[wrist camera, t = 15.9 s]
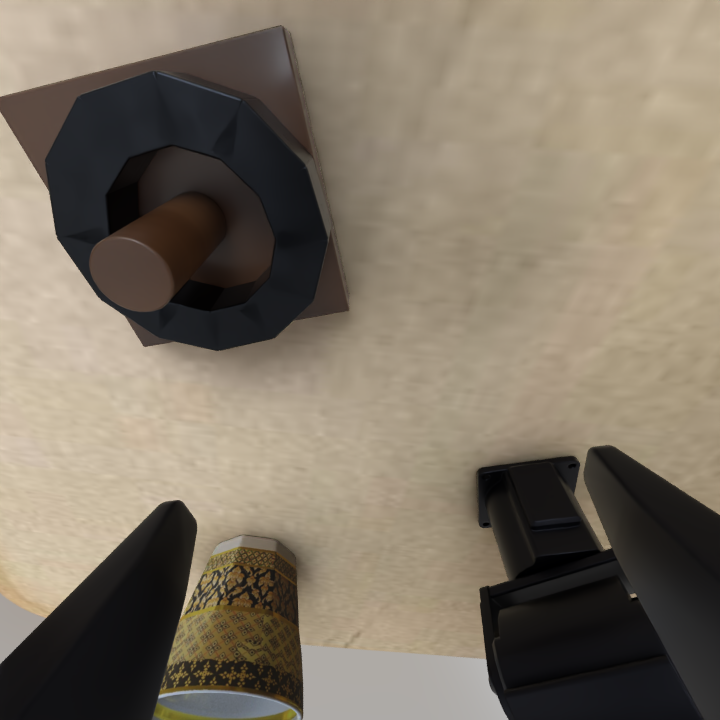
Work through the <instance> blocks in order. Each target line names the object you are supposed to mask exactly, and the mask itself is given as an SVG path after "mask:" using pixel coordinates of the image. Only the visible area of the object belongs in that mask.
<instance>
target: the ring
mask: <svg viewBox="0 0 720 720" xmlns="http://www.w3.org/2000/svg"><path fill="white" fill-rule="evenodd" d="M171 146H175V147H178V148H181V149H185V150H188V151H191V152H195V153H198V154H201V155H205V156H208V157H211V158H215V159H218V160H221V161H222V162H223V163H224V164H225V165H226V166H228V167H229V168H230V169H231V170H232V171H233V172H234V173H235V174H236V175H237V176H238V177H239V178H240V179H241V180H242V181H243V182H244V183H245V184H246V185H248V186H249V187H250V188H251V189H252V190H253V191H254V192H255V193H256V194H257V195H258V196H259V198H260V200H261V203H262V206H263V208H264V211H265V214H266V216H267V219H268V222H269V224H270V227H271V230H272V232H273V235H274V238H275V243H274V249H273V256H272V262H271V265H270V266H269V267H268V269H267V270H266V271H265V272H264V273H263V274H262V275H261V276H260V277H259V278H258V279H257V280H256V281H253V282H249V283H245V284H241V285H237V286H233V287H229V288H222V287H218V286H214V285H210V284H206V283H202V282H198V281H194V280H190V279H189V280H188V281H187V282H186V283H185V284H184V285H183V287H182V288H181V289H180V290H179V291H178V292H177V293H176V295H175V296H174V297H173V298H172V299H171V300H170V301H169V303H168V304H166V305H165V306H164V307H162V308H161V309H158V310H155V311H151V312H137V311H132V310H129V309H126V308H124V307H121V306H119V305H118V304H116V303H114V302H113V301H111V300H110V299H109V298H108V297H106V296H105V295H104V294H103V293H102V292H101V290H100V289H99V288H98V286H97V285H96V283H95V282H94V280H93V278H92V275H91V272H90V267H89V260H90V255H91V252H92V250H93V248H94V247H95V245H96V244H97V243H99V242H100V241H101V240H103V239H105V238H106V237H108V236H110V235H111V234H113V233H115V232H116V231H118V230H120V229H122V228H123V227H125V226H127V225H128V224H130V223H132V222H133V221H135V220H137V219H138V218H139V216H138V189H137V182H138V180H139V179H140V177H141V176H142V174H143V173H144V171H145V169H146V168H147V166H148V165H149V163H150V162H151V160H152V159H153V157H154V156H155V154H156V153H157V151H158V150H161V149H165V148H168V147H171ZM44 161H45V168H46V174H47V181H48V187H49V193H50V200H51V206H52V212H53V218H54V225H55V231H56V235H57V239H58V240H59V242H60V243H61V244H62V246H63V247H64V249H65V250H66V252H67V253H68V254H69V256H70V257H71V259H72V260H73V262H74V263H75V264H76V266H77V267H78V269H79V270H80V272H81V273H82V274H83V276H84V277H85V279H86V280H87V282H88V283H89V284H90V286H91V287H92V289H93V290H94V292H95V293H96V295H97V296H98V297H99V298H100V299H101V300H102V301H104V302H105V303H107V304H108V305H110V306H111V307H113V308H114V309H116V310H117V311H119V312H120V313H122V314H123V315H125V316H126V317H128V318H129V319H131V320H132V321H134V322H135V323H137V324H138V325H139V326H141V327H142V328H144V329H145V330H147V331H148V332H150V333H151V334H153V335H154V336H156V337H158V338H161V339H165V340H170V341H175V342H179V343H184V344H188V345H193V346H197V347H202V348H207V349H211V350H216V351H219V350H220V351H221V350H225V349H230V348H234V347H239V346H243V345H247V344H252V343H256V342H261V341H265V340H270V339H273V338H275V337H276V336H277V335H279V334H280V333H281V332H282V331H283V330H284V329H285V328H286V327H287V326H288V325H289V324H290V323H291V322H292V321H293V320H294V319H296V318H297V317H298V316H299V315H300V314H301V313H302V312H303V311H304V310H305V309H306V308H307V307H308V306H309V305H310V304H311V303H313V301H314V299H315V295H316V291H317V287H318V283H319V279H320V275H321V271H322V267H323V262H324V258H325V254H326V250H327V246H328V242H329V236H330V230H331V219H330V216H329V212H328V209H327V205H326V202H325V198H324V195H323V191H322V188H321V184H320V181H319V177H318V174H317V170H316V167H315V163H314V160H313V158H312V156H311V154H310V153H309V152H308V151H307V150H306V149H305V148H304V146H303V145H302V144H301V143H300V142H299V141H298V140H297V139H296V138H295V137H294V136H293V135H292V134H291V132H290V131H289V130H288V129H287V128H286V127H285V126H284V125H283V124H282V123H281V122H280V121H279V119H278V118H277V117H276V116H275V115H274V114H273V113H272V112H271V111H270V110H269V109H268V108H267V106H266V105H265V104H264V103H263V102H262V101H261V100H260V99H257V98H256V97H255V96H252V95H249V94H246V93H243V92H240V91H237V90H234V89H231V88H228V87H225V86H222V85H219V84H216V83H213V82H210V81H207V80H204V79H201V78H198V77H195V76H192V75H189V74H186V73H178V72H169V71H156V70H152V71H149V72H146V73H143V74H140V75H137V76H134V77H131V78H128V79H125V80H122V81H119V82H116V83H113V84H110V85H107V86H104V87H101V88H98V89H95V90H92V91H89V92H86V93H83V94H81V95H80V96H77V98H76V100H75V102H74V104H73V106H72V108H71V110H70V112H69V114H68V116H67V118H66V119H65V121H64V123H63V125H62V127H61V129H60V131H59V133H58V135H57V137H56V139H55V141H54V143H53V145H52V146H51V148H50V150H49V152H48V154H47V156H46V158H45V160H44Z"/></svg>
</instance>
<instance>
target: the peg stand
mask: <svg viewBox="0 0 720 720" xmlns="http://www.w3.org/2000/svg"><path fill="white" fill-rule="evenodd" d="M152 70H156V71H169V72H178V73H186V74H189V75H192V76H195V77H198V78H201V79H204V80H207V81H210V82H213V83H216V84H219V85H222V86H225V87H228V88H231V89H234V90H237V91H240V92H243V93H246V94H249V95H252V96H255V97H256V98H257V99H260V100H261V101H262V102H263V103H264V104H265V105H266V106H267V108H268V109H269V110H270V111H271V112H272V113H273V114H274V115H275V116H276V117H277V118H278V119H279V121H280V122H281V123H282V124H283V125H284V126H285V127H286V128H287V129H288V130H289V131H290V132H291V134H292V135H293V136H294V137H295V138H296V139H297V140H298V141H299V142H300V143H301V144H302V145H303V146H304V148H305V149H306V150H307V151H308V152H309V153H310V154H311V156H312V158H313V160H314V163H315V167H316V170H317V174H318V177H319V181H320V184H321V188H322V191H323V195H324V198H325V202H326V205H327V209H328V212H329V216H330V219H331V230H330V236H329V242H328V246H327V250H326V254H325V258H324V262H323V267H322V271H321V275H320V279H319V283H318V287H317V291H316V295H315V299H314V301H313V303H311V304H310V305H309V306H308V307H307V308H306V309H305V310H304V311H303V312H302V313H301V314H300V315H299V316H298V317H297V318H296V319H294V320H300V319H305V318H311V317H317V316H322V315H328V314H334V313H339V312H345V311H349V292H348V287H347V283H346V278H345V274H344V270H343V265H342V261H341V256H340V252H339V247H338V243H337V239H336V234H335V230H334V225H333V221H332V216H331V212H330V208H329V203H328V199H327V194H326V190H325V185H324V181H323V177H322V172H321V168H320V163H319V159H318V154H317V150H316V146H315V141H314V137H313V132H312V128H311V124H310V119H309V115H308V110H307V106H306V101H305V97H304V93H303V88H302V84H301V79H300V75H299V70H298V66H297V62H296V57H295V53H294V48H293V44H292V39H291V35H290V32H289V31H288V30H287V29H286V28H285V27H284V26H281V25H280V26H276V27H272V28H268V29H264V30H260V31H256V32H252V33H249V34H245V35H241V36H237V37H233V38H229V39H225V40H221V41H217V42H213V43H209V44H205V45H201V46H198V47H194V48H190V49H186V50H182V51H178V52H174V53H170V54H166V55H162V56H158V57H154V58H150V59H147V60H143V61H139V62H135V63H131V64H127V65H123V66H119V67H115V68H111V69H107V70H103V71H99V72H95V73H92V74H88V75H84V76H80V77H76V78H72V79H68V80H64V81H60V82H56V83H52V84H48V85H44V86H41V87H37V88H33V89H29V90H25V91H21V92H17V93H13V94H9V95H5V96H1V97H0V112H1V113H2V115H3V117H4V118H5V120H6V121H7V123H8V125H9V126H10V128H11V130H12V131H13V133H14V135H15V136H16V138H17V140H18V141H19V143H20V144H21V146H22V148H23V149H24V151H25V153H26V154H27V156H28V158H29V159H30V161H31V162H32V164H33V166H34V167H35V169H36V171H37V172H38V174H39V176H40V177H41V179H42V180H43V182H44V184H45V185H46V187H47V189H48V190H49V187H48V181H47V174H46V168H45V161H44V160H45V158H46V156H47V154H48V152H49V150H50V148H51V146H52V145H53V143H54V141H55V139H56V137H57V135H58V133H59V131H60V129H61V127H62V125H63V123H64V121H65V119H66V118H67V116H68V114H69V112H70V110H71V108H72V106H73V104H74V102H75V100H76V98H77V96H80V95H81V94H83V93H86V92H89V91H92V90H95V89H98V88H101V87H104V86H107V85H110V84H113V83H116V82H119V81H122V80H125V79H128V78H131V77H134V76H137V75H140V74H143V73H146V72H149V71H152ZM137 189H138V216H139V218H138V219H137V220H135V221H133V222H132V223H130V224H128V225H127V226H125V227H123V228H122V229H120V230H118V231H116V232H115V233H113V234H111V235H110V236H108V237H106V238H105V239H103V240H101V241H100V242H99V243H97V244H96V245H95V247H94V248H93V250H92V252H91V255H90V260H89V267H90V272H91V275H92V278H93V280H94V282H95V283H96V285H97V286H98V288H99V289H100V290H101V292H102V293H103V294H104V295H105V296H106V297H108V298H109V299H110V300H111V301H113V302H114V303H116V304H118V305H119V306H121V307H124V308H126V309H129V310H132V311H137V312H151V311H155V310H158V309H161V308H162V307H164V306H165V305H166V304H168V303H169V301H170V300H171V299H172V298H173V297H174V296H175V295H176V293H177V292H178V291H179V290H180V289H181V288H182V287H183V285H184V284H185V283H186V282H187V281H188V280H189V279H190V280H194V281H198V282H202V283H206V284H210V285H214V286H218V287H222V288H229V287H233V286H237V285H241V284H245V283H249V282H253V281H256V280H257V279H258V278H259V277H260V276H261V275H262V274H263V273H264V272H265V271H266V270H267V269H268V267H269V266H270V265H271V262H272V256H273V249H274V243H275V238H274V235H273V232H272V230H271V227H270V224H269V222H268V219H267V216H266V214H265V211H264V208H263V206H262V203H261V200H260V198H259V196H258V195H257V194H256V193H255V192H254V191H253V190H252V189H251V188H250V187H249V186H248V185H246V184H245V183H244V182H243V181H242V180H241V179H240V178H239V177H238V176H237V175H236V174H235V173H234V172H233V171H232V170H231V169H230V168H229V167H228V166H226V165H225V164H224V163H223V162H222V161H221V160H218V159H215V158H211V157H208V156H205V155H201V154H198V153H195V152H191V151H188V150H185V149H181V148H178V147H175V146H171V147H168V148H165V149H161V150H158V151H157V153H156V154H155V156H154V157H153V159H152V160H151V162H150V163H149V165H148V166H147V168H146V169H145V171H144V173H143V174H142V176H141V177H140V179H139V180H138V182H137ZM125 317H126V316H125ZM126 318H127V320H128V321H129V323H130V325H131V326H132V328H133V330H134V331H135V333H136V335H137V336H138V338H139V339H140V341H141V343H142V344H143V346H144V347H147V346H153V345H159V344H164V343H170V342H175V341H170V340H165V339H161V338H158V337H156V336H154V335H153V334H151V333H150V332H148V331H147V330H145V329H144V328H142V327H141V326H139V325H138V324H137V323H135V322H134V321H132V320H131V319H129V318H128V317H126ZM294 320H293V321H294Z"/></svg>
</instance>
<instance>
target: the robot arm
mask: <svg viewBox="0 0 720 720" xmlns="http://www.w3.org/2000/svg"><path fill="white" fill-rule="evenodd" d="M579 467H580V463H579V461H578V459H577V458H576V457H574V456H567V457H560V458H552V459H545V460H537V461H530V462H522V463H515V464H507V465H499V466H492V467H484V468H481V469H479V470H478V471H477V502H478V522H479V525H480V527H482V528H490V527H492V529H493V532H494V535H495V539H496V542H497V545H498V548H499V551H500V554H501V558H502V561H503V564H504V567H505V570H506V573H507V577H508V580H509V581H506V582H503V583H500V584H497V585H494V586H491V587H489V586H485V587H482V588H480V598H481V603H480V608H481V617H482V625H483V634H484V643H485V651H486V660H487V667H488V674H489V684H490V687H491V689H492V691H493V692H494V693H495V694H496V695H497V696H498V698H499V701H500V703H501V705H502V708H503V710H504V712H505V714H506V715H507V718H508V719H509V720H720V515H719V514H717V513H716V512H714V511H713V510H711V509H709V508H708V507H706V506H705V505H703V504H702V503H700V502H699V501H697V500H696V499H694V498H692V497H691V496H689V495H688V494H686V493H685V492H683V491H682V490H680V489H679V488H677V487H676V486H674V485H672V484H671V483H669V482H668V481H666V480H665V479H663V478H662V477H660V476H659V475H657V474H656V473H654V472H652V471H651V470H649V469H648V468H646V467H645V466H643V465H642V464H640V463H639V462H637V461H635V460H634V459H632V458H631V457H629V456H628V455H626V454H625V453H623V452H622V451H620V450H619V449H617V448H615V447H613V446H610V445H605V446H597V447H591V448H590V449H589V450H588V453H587V458H586V463H585V468H584V481H585V484H586V487H587V489H588V491H589V494H590V496H591V499H592V501H593V503H594V506H595V508H596V511H597V513H598V516H599V518H600V520H601V523H602V525H603V528H604V530H605V532H606V535H607V537H608V540H609V542H610V544H611V547H612V548H611V549H608V550H605V551H604V549H603V547H602V545H601V544H600V542H599V540H598V538H597V536H596V534H595V533H594V531H593V529H592V527H591V525H590V523H589V522H588V520H587V518H586V516H585V514H584V512H583V511H582V509H581V507H580V505H579V503H578V501H577V500H576V498H575V496H574V492H575V487H576V482H577V477H578V472H579ZM196 534H197V522H196V520H195V518H194V517H193V515H192V514H191V513H190V511H189V510H188V508H187V507H186V506H185V504H184V503H183V502H182V501H180V500H175V501H168V502H163V503H161V504H160V505H159V506H158V507H157V508H156V509H155V510H154V511H153V512H152V513H151V514H150V515H149V516H148V517H147V518H146V519H145V520H144V521H143V522H142V523H141V524H140V525H139V526H138V527H137V528H136V529H135V530H134V531H133V532H132V533H131V534H130V535H129V536H128V537H127V538H126V539H125V540H124V541H123V542H122V543H121V544H120V545H119V546H118V547H117V548H116V549H115V550H114V551H113V552H112V553H111V554H110V555H109V556H108V557H107V558H106V559H105V560H104V561H103V562H102V563H101V564H100V565H99V566H98V567H97V568H96V569H95V570H94V571H93V572H92V573H91V574H90V575H89V576H88V577H87V578H86V579H85V580H84V581H83V582H82V583H81V584H80V585H79V586H78V587H77V588H76V589H75V590H74V591H73V592H72V593H71V594H70V595H69V596H68V597H67V598H66V599H65V600H64V601H63V602H62V603H61V604H60V605H59V606H58V607H57V608H56V609H55V610H54V611H53V612H52V613H51V614H50V615H49V616H48V617H47V618H46V619H45V620H44V621H43V622H42V623H41V624H40V625H39V626H38V627H37V628H36V629H35V630H34V631H33V632H32V633H31V634H30V635H29V636H28V637H27V638H26V639H25V640H24V641H23V642H22V643H21V644H20V645H19V646H18V647H17V648H16V649H15V650H14V651H13V652H12V653H11V654H10V655H9V656H8V657H7V658H6V659H5V660H4V661H3V662H2V663H1V664H0V720H152V719H153V715H154V712H155V708H156V704H157V701H158V697H159V693H160V690H161V686H162V682H163V679H164V675H165V671H166V668H167V664H168V660H169V657H170V653H171V649H172V646H173V642H174V638H175V635H176V631H177V627H178V624H179V620H180V616H181V613H182V609H183V605H184V601H185V596H186V591H187V586H188V580H189V575H190V569H191V563H192V557H193V551H194V546H195V540H196ZM633 593H636V595H637V597H634V598H631V596H630V594H633Z"/></svg>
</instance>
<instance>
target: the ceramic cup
mask: <svg viewBox="0 0 720 720" xmlns="http://www.w3.org/2000/svg"><path fill="white" fill-rule="evenodd" d="M302 719H303V675H302V656H301V645H300V636H299V619H298V596H297V570H296V558H295V556H294V554H293V553H292V552H290V551H289V550H288V549H287V548H286V547H284V546H283V545H282V544H281V543H279V542H278V541H277V540H274V539H268V538H261V537H254V536H246V535H241V536H238V537H235V538H232V539H230V540H227V541H224V542H221V543H219V544H218V546H217V547H216V548H215V550H214V552H213V554H212V556H211V558H210V560H209V562H208V564H207V566H206V568H205V571H204V573H203V575H202V577H201V579H200V581H199V583H198V585H197V587H196V589H195V591H194V593H193V595H192V597H191V599H190V601H189V603H188V605H187V607H186V609H185V611H184V614H183V616H182V618H181V619H180V621H179V624H178V627H177V631H176V635H175V638H174V642H173V646H172V649H171V653H170V657H169V660H168V664H167V668H166V671H165V675H164V679H163V682H162V686H161V690H160V693H159V697H158V701H157V704H156V708H155V712H154V715H153V719H152V720H302Z"/></svg>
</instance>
